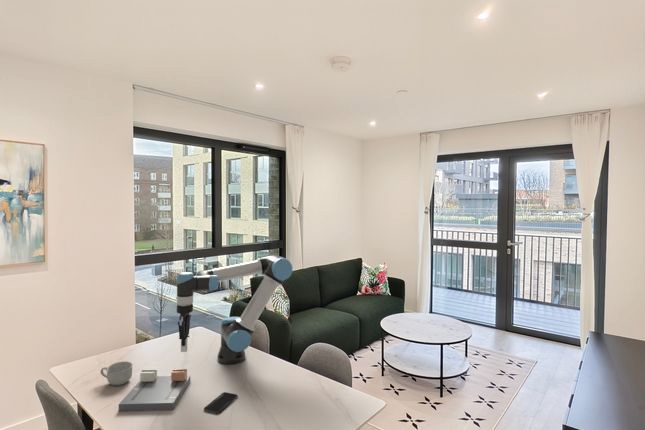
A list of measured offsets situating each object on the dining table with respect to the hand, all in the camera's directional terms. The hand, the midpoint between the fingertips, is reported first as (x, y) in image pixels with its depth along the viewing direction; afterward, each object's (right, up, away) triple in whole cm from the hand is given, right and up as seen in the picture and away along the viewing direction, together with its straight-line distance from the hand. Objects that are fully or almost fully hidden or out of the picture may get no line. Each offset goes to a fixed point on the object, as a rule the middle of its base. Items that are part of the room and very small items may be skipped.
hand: (184, 351), depth 176 cm
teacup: (-31, -13, -5) cm, 34 cm away
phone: (+25, -15, -22) cm, 36 cm away
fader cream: (-13, -10, -9) cm, 19 cm away
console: (-6, -14, -16) cm, 22 cm away
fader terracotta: (+1, -10, -8) cm, 13 cm away
